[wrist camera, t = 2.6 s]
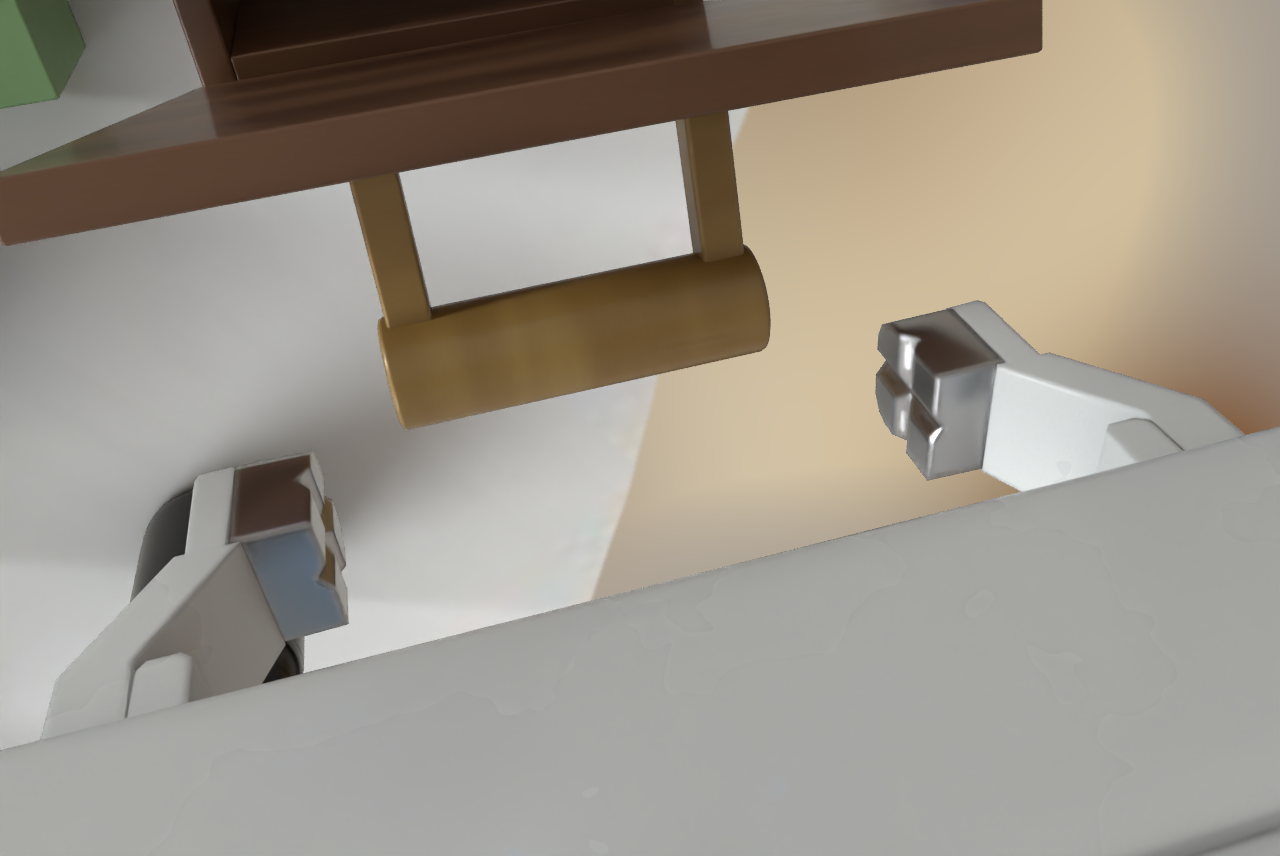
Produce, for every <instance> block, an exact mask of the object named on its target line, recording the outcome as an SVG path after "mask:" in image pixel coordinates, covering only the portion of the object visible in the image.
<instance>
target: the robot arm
mask: <svg viewBox="0 0 1280 856" xmlns="http://www.w3.org/2000/svg"><path fill="white" fill-rule="evenodd" d="M878 350H879V352H880V353H881V354H882V355H883V357H884V358H885V359H886V361H885V362H884V364H883V365H882V367H881V368H880V370H879V371H878V372H877V374H876V398H877V403H878V407H879V412H880V414H881V416H882V418H883V421H884V423H885V425H886V426H887V427H888V428H889V430H890V432H891V433H892V434H893V435H895V436H898V437H900V438H903V439H905V440H907V450H906V453H907V454H908V456H909V457H910V458H911V459H912V461H913V462H914V464H915V465H916V466H917V467H918V469H919V470H920V472H921V473H922V474H923V475H924V477H925V478H926V479H927V480H932V479H936V478H941V477H946V476H950V475H954V474H959V473H964V472H969V471H973V470H978V469H982V471H983V472H985V473H987V474H989V475H991V476H993V477H994V478H996V479H998V480H1000V481H1002V482H1004V483H1006V484H1008V485H1010V486H1011V487H1013V488H1015V489H1017V490H1019V491H1021V492H1018V493H1014V494H1010V495H1007V496H1002V497H998V498H994V499H990V500H987V501H983V502H979V503H975V504H971V505H967V506H963V507H959V508H955V509H951V510H947V511H943V512H939V513H935V514H931V515H927V516H924V517H919V518H916V519H912V520H908V521H904V522H900V523H896V524H892V525H888V526H884V527H880V528H876V529H872V530H868V531H864V532H860V533H856V534H853V535H848V536H844V537H841V538H837V539H833V540H829V541H825V542H821V543H817V544H813V545H809V546H805V547H801V548H797V549H793V550H790V551H785V552H781V553H778V554H773V555H770V556H766V557H762V558H758V559H754V560H750V561H746V562H742V563H738V564H734V565H730V566H726V567H722V568H718V569H714V570H710V571H706V572H702V573H698V574H695V575H690V576H687V577H683V578H679V579H675V580H671V581H667V582H663V583H659V584H655V585H651V586H647V587H643V588H639V589H635V590H631V591H628V592H624V593H619V594H616V595H612V596H608V597H604V598H600V599H596V600H592V601H588V602H584V603H580V604H576V605H572V606H568V607H564V608H560V609H556V610H552V611H548V612H544V613H540V614H536V615H532V616H528V617H524V618H521V619H517V620H513V621H509V622H505V623H501V624H497V625H493V626H489V627H485V628H481V629H477V630H473V631H469V632H465V633H461V634H457V635H453V636H449V637H445V638H441V639H438V640H434V641H430V642H426V643H422V644H418V645H414V646H410V647H406V648H402V649H398V650H394V651H390V652H386V653H382V654H378V655H374V656H370V657H366V658H362V659H358V660H355V661H351V662H347V663H343V664H339V665H335V666H331V667H327V668H323V669H319V670H315V671H311V672H307V673H303V674H299V675H295V676H291V677H287V678H283V679H279V680H275V681H272V682H268V683H264V684H262V683H263V681H264V679H265V678H266V676H267V674H268V673H269V671H270V670H271V668H272V666H273V665H274V663H275V661H276V660H277V658H278V656H279V655H280V653H281V652H282V650H283V648H284V647H285V645H286V644H285V641H289V640H292V639H296V638H300V637H303V636H307V635H310V634H314V633H318V632H321V631H325V630H329V629H332V628H336V627H340V626H343V625H347V624H349V621H348V596H347V587H346V584H345V581H344V579H343V576H342V573H341V571H342V570H343V569H344V568H345V566H346V557H345V547H344V542H343V536H342V530H341V526H340V523H339V519H338V516H337V512H336V509H335V507H334V504H333V501H332V500H331V499H330V498H328V497H326V496H325V495H324V482H323V473H322V471H321V468H320V465H319V463H318V460H317V458H316V456H315V454H314V453H313V452H312V451H310V452H305V453H300V454H295V455H290V456H285V457H280V458H275V459H270V460H266V461H261V462H256V463H251V464H246V465H241V466H238V467H231V468H227V469H222V470H218V471H213V472H209V473H204V474H200V475H199V476H198V477H197V478H196V480H195V481H194V488H193V495H192V503H191V510H190V518H189V526H188V533H187V541H186V549H185V554H184V555H180V556H176V557H174V558H173V559H172V560H171V561H170V562H169V563H168V564H167V565H166V566H165V567H164V568H163V569H162V570H161V571H160V572H159V573H158V574H157V575H156V576H155V577H154V578H153V579H152V580H151V581H150V582H149V583H148V585H147V586H146V587H145V588H144V589H143V590H142V591H141V592H140V593H139V594H138V595H137V596H136V597H135V598H134V599H133V600H132V601H131V602H130V603H129V604H128V605H127V606H126V607H125V608H124V609H123V610H122V612H121V613H120V614H119V615H118V616H117V617H116V618H115V619H114V620H113V621H112V622H111V623H110V624H109V625H108V626H107V627H106V628H105V629H104V630H103V631H102V632H101V633H100V634H99V635H98V636H97V637H96V639H95V640H94V641H93V642H92V643H91V644H90V645H89V646H88V647H87V648H86V649H85V650H84V651H83V652H82V653H81V654H80V655H79V656H78V657H77V658H76V659H75V660H74V661H73V662H72V663H71V665H70V666H69V667H68V668H67V669H66V670H65V671H64V672H63V673H62V674H61V675H60V676H59V677H58V678H57V679H56V680H55V682H54V687H53V691H52V695H51V699H50V703H49V707H48V711H47V715H46V719H45V724H44V728H43V732H42V736H41V740H39V741H35V742H31V743H27V744H23V745H19V746H15V747H11V748H7V749H3V750H0V856H1280V427H1276V428H1272V429H1268V430H1264V431H1260V432H1256V433H1252V434H1248V435H1245V434H1244V433H1243V432H1242V431H1241V430H1240V429H1238V428H1237V427H1236V426H1235V425H1234V424H1232V423H1231V422H1230V421H1229V420H1228V419H1227V418H1225V417H1224V416H1223V415H1222V414H1220V413H1219V412H1218V411H1217V410H1216V409H1215V408H1213V407H1212V406H1211V405H1210V404H1209V403H1207V402H1206V401H1205V400H1204V399H1201V398H1198V397H1194V396H1191V395H1188V394H1185V393H1181V392H1178V391H1175V390H1171V389H1168V388H1165V387H1161V386H1158V385H1155V384H1152V383H1148V382H1145V381H1142V380H1138V379H1135V378H1132V377H1129V376H1125V375H1122V374H1119V373H1115V372H1112V371H1109V370H1105V369H1102V368H1099V367H1095V366H1092V365H1089V364H1086V363H1082V362H1079V361H1076V360H1072V359H1069V358H1066V357H1062V356H1059V355H1056V354H1052V353H1045V354H1042V355H1040V354H1039V353H1038V352H1037V351H1035V349H1034V348H1033V347H1031V346H1030V345H1029V344H1028V343H1027V342H1026V341H1025V340H1024V339H1023V338H1022V337H1021V336H1020V335H1019V334H1018V333H1017V332H1016V331H1015V330H1014V329H1013V328H1011V327H1010V326H1009V325H1008V324H1007V323H1006V322H1005V321H1004V320H1003V319H1002V318H1001V317H1000V316H999V315H998V314H997V313H996V312H995V311H994V310H992V308H991V307H989V306H988V305H987V304H986V303H985V302H981V301H973V302H969V303H966V304H962V305H958V306H954V307H950V308H947V309H946V310H942V311H937V312H933V313H929V314H925V315H920V316H916V317H912V318H908V319H903V320H899V321H895V322H891V323H886V324H882V326H881V329H880V332H879V335H878Z"/></svg>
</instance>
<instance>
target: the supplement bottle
mask: <svg viewBox="0 0 1280 856" xmlns="http://www.w3.org/2000/svg"><path fill="white" fill-rule="evenodd" d="M192 495H193V490H192V491H190V492H187V493H184V494H182V495H180V496H178V497H176V498H175V499H173V500H171V501H170V502H168V503H167V504H166V505H164V506H163V507H162V508H161V509H160V510H159V511H158V512H157V513H156V514H155V516H154V517H153V518H152V520H151V521H150V523H149V525H148V527H147V529H146V532H145V535H144V538H143V543H142V547H141V551H140V556H139V560H138V565H137V570H136V575H135V580H134V585H133V590H132V595H131V600H130V602H131V601H132V600H133V599H134V598H135V597H136V596H137V595H138V594H139V593H140V592H141V591H142V590H143V589H144V588H145V587H146V586H147V585H148V583H149V582H150V581H151V580H152V579H153V578H154V577H155V576H156V575H157V574H158V573H159V572H160V571H161V570H162V569H163V568H164V567H165V566H166V565H167V564H168V563H169V562H170V561H171V560H172V559H173V558H174V557H176V556H180V555H184V554H185V549H186V541H187V533H188V526H189V518H190V510H191V503H192ZM285 644H286V645H285V647H284V648H283V650H282V652H281V653H280V655H279V656H278V658H277V660H276V661H275V663H274V665H273V666H272V668H271V670H270V671H269V673H268V674H267V676H266V678H265V679H264V681H263V683H262V684H264V683H268V682H272V681H275V680H279V679H283V678H287V677H291V676H295V675H299V674H303V671H304V636H303V637H300V638H296V639H292V640H289V641H285Z"/></svg>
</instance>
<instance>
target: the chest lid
mask: <svg viewBox="0 0 1280 856" xmlns="http://www.w3.org/2000/svg"><path fill="white" fill-rule="evenodd" d="M1041 50H1042V0H704V1H698V2H692V3H687V4H681V5H675V6H669V7H663V8H657V9H652V10H646V11H640V12H634V13H628V14H622V15H617V16H611V17H605V18H599V19H593V20H588V21H582V22H576V23H570V24H564V25H558V26H553V27H547V28H541V29H535V30H529V31H523V32H518V33H512V34H506V35H500V36H494V37H488V38H483V39H477V40H471V41H465V42H459V43H453V44H448V45H442V46H436V47H430V48H424V49H418V50H413V51H407V52H401V53H395V54H389V55H383V56H378V57H372V58H366V59H360V60H354V61H348V62H343V63H337V64H331V65H325V66H319V67H313V68H308V69H302V70H296V71H290V72H284V73H278V74H273V75H267V76H261V77H255V78H249V79H243V80H238V81H232V82H226V83H220V84H214V85H209V86H203V87H200V88H197V89H195V90H193V91H190V92H188V93H186V94H183V95H181V96H179V97H176V98H174V99H171V100H169V101H167V102H164V103H162V104H160V105H157V106H155V107H153V108H150V109H148V110H145V111H143V112H141V113H138V114H136V115H134V116H131V117H129V118H127V119H124V120H122V121H119V122H117V123H115V124H112V125H110V126H108V127H105V128H103V129H101V130H98V131H96V132H93V133H91V134H89V135H86V136H84V137H82V138H79V139H77V140H75V141H72V142H70V143H67V144H65V145H63V146H60V147H58V148H56V149H53V150H51V151H49V152H46V153H44V154H41V155H39V156H37V157H34V158H32V159H30V160H27V161H25V162H23V163H20V164H18V165H15V166H13V167H11V168H8V169H6V170H4V171H1V172H0V242H1V243H2V245H5V246H10V245H15V244H21V243H26V242H31V241H37V240H42V239H47V238H53V237H58V236H63V235H69V234H74V233H79V232H85V231H90V230H95V229H101V228H106V227H111V226H117V225H122V224H127V223H133V222H138V221H143V220H148V219H154V218H159V217H164V216H170V215H175V214H180V213H186V212H191V211H196V210H202V209H207V208H212V207H218V206H223V205H228V204H234V203H239V202H244V201H250V200H255V199H260V198H266V197H271V196H276V195H282V194H287V193H292V192H298V191H303V190H308V189H314V188H319V187H324V186H330V185H335V184H340V183H346V182H349V183H350V187H351V191H352V195H353V199H354V203H355V206H356V210H357V214H358V218H359V222H360V226H361V230H362V234H363V237H364V241H365V245H366V249H367V253H368V257H369V261H370V264H371V268H372V272H373V276H374V280H375V284H376V288H377V292H378V295H379V299H380V303H381V307H382V311H383V315H384V317H382V318H381V319H379V320H378V336H379V343H380V348H381V353H382V358H383V363H384V367H385V372H386V376H387V380H388V384H389V388H390V392H391V396H392V399H393V403H394V406H395V410H396V413H397V416H398V419H399V421H400V423H401V425H402V426H403V428H404V429H408V430H410V429H415V428H419V427H423V426H428V425H432V424H437V423H441V422H446V421H450V420H455V419H459V418H464V417H468V416H473V415H477V414H482V413H486V412H491V411H495V410H500V409H504V408H509V407H513V406H518V405H522V404H527V403H531V402H536V401H540V400H545V399H549V398H553V397H558V396H562V395H567V394H571V393H576V392H580V391H585V390H589V389H594V388H598V387H603V386H607V385H612V384H616V383H621V382H625V381H630V380H634V379H639V378H643V377H648V376H652V375H657V374H661V373H666V372H670V371H675V370H678V369H683V368H688V367H692V366H697V365H701V364H706V363H710V362H715V361H719V360H723V359H728V358H733V357H737V356H742V355H746V354H751V353H755V352H760V351H762V350H763V349H764V348H766V346H767V344H768V342H769V337H770V308H769V301H768V295H767V290H766V286H765V282H764V279H763V276H762V273H761V270H760V267H759V265H758V263H757V260H756V258H755V257H754V255H753V253H752V251H751V250H750V249H749V248H748V247H747V246H746V245H743V238H742V230H741V220H740V212H739V203H738V194H737V186H736V177H735V168H734V159H733V150H732V142H731V133H730V124H729V115H728V111H729V110H734V109H740V108H745V107H750V106H756V105H761V104H766V103H771V102H777V101H782V100H787V99H793V98H798V97H804V96H809V95H814V94H819V93H825V92H830V91H835V90H841V89H846V88H851V87H857V86H862V85H867V84H873V83H878V82H883V81H888V80H894V79H899V78H905V77H910V76H915V75H921V74H926V73H931V72H937V71H942V70H946V69H952V68H958V67H963V66H968V65H974V64H979V63H985V62H990V61H995V60H1001V59H1006V58H1011V57H1016V56H1022V55H1027V54H1032V53H1037V52H1039V51H1041ZM670 121H676V128H677V135H678V143H679V150H680V158H681V165H682V173H683V180H684V188H685V195H686V203H687V210H688V218H689V225H690V233H691V240H692V247H693V253H691V254H686V255H681V256H676V257H672V258H667V259H662V260H657V261H652V262H647V263H643V264H638V265H633V266H628V267H623V268H618V269H614V270H609V271H604V272H599V273H594V274H589V275H585V276H580V277H575V278H570V279H565V280H560V281H556V282H551V283H546V284H541V285H536V286H531V287H527V288H522V289H517V290H512V291H507V292H503V293H498V294H493V295H488V296H483V297H478V298H474V299H469V300H464V301H459V302H454V303H449V304H445V305H440V306H435V307H431V305H430V301H429V297H428V293H427V289H426V284H425V280H424V276H423V272H422V268H421V263H420V259H419V255H418V251H417V247H416V243H415V238H414V234H413V230H412V226H411V222H410V217H409V213H408V209H407V205H406V201H405V197H404V192H403V188H402V184H401V180H400V176H399V172H404V171H409V170H415V169H420V168H425V167H431V166H436V165H441V164H447V163H452V162H457V161H463V160H468V159H473V158H479V157H484V156H489V155H495V154H500V153H505V152H511V151H516V150H521V149H527V148H532V147H537V146H543V145H548V144H553V143H559V142H564V141H569V140H575V139H580V138H585V137H591V136H596V135H601V134H606V133H612V132H617V131H622V130H628V129H633V128H638V127H644V126H649V125H654V124H660V123H665V122H670Z"/></svg>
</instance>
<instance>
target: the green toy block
mask: <svg viewBox="0 0 1280 856" xmlns="http://www.w3.org/2000/svg"><path fill="white" fill-rule="evenodd" d="M84 49H85V44H84V41H83V39H82V36H81V34H80V32H79V29H78V27H77V24H76V22H75V19H74V17H73V14H72V12H71V10H70V7H69V5H68V2H67V0H0V109H2V108H7V107H13V106H19V105H25V104H31V103H37V102H43V101H49V100H55V99H58V98H59V97H60V95H61V93H62V91H63V89H64V87H65V85H66V84H67V82H68V80H69V78H70V76H71V74H72V72H73V70H74V68H75V66H76V64H77V62H78V60H79V58H80V56H81V54H82V53H83V51H84Z"/></svg>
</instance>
